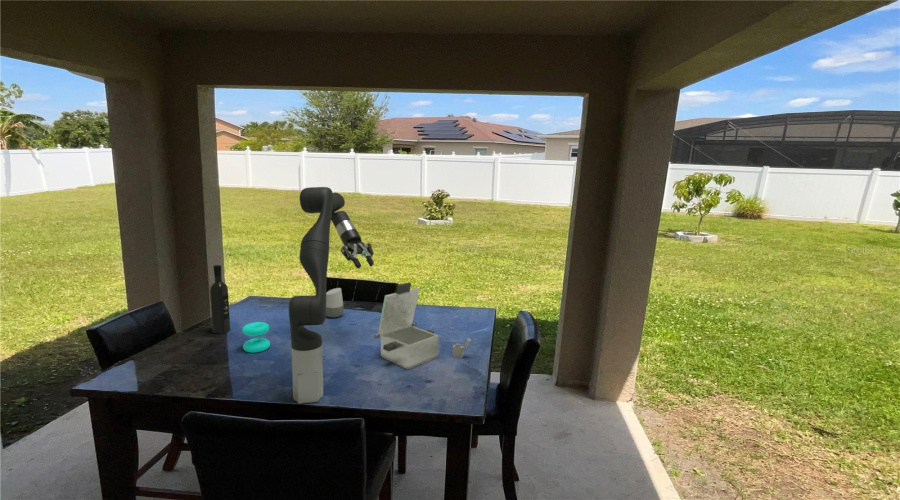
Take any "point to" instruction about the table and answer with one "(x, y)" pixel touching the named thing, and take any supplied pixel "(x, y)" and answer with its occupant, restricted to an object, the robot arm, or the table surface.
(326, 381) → the table surface
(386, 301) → the lid
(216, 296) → the wine bottle
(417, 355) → the grey rectangular box
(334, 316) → the smart speaker
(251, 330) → the donuts
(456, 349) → the lighter
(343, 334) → the table surface
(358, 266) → the robot arm
